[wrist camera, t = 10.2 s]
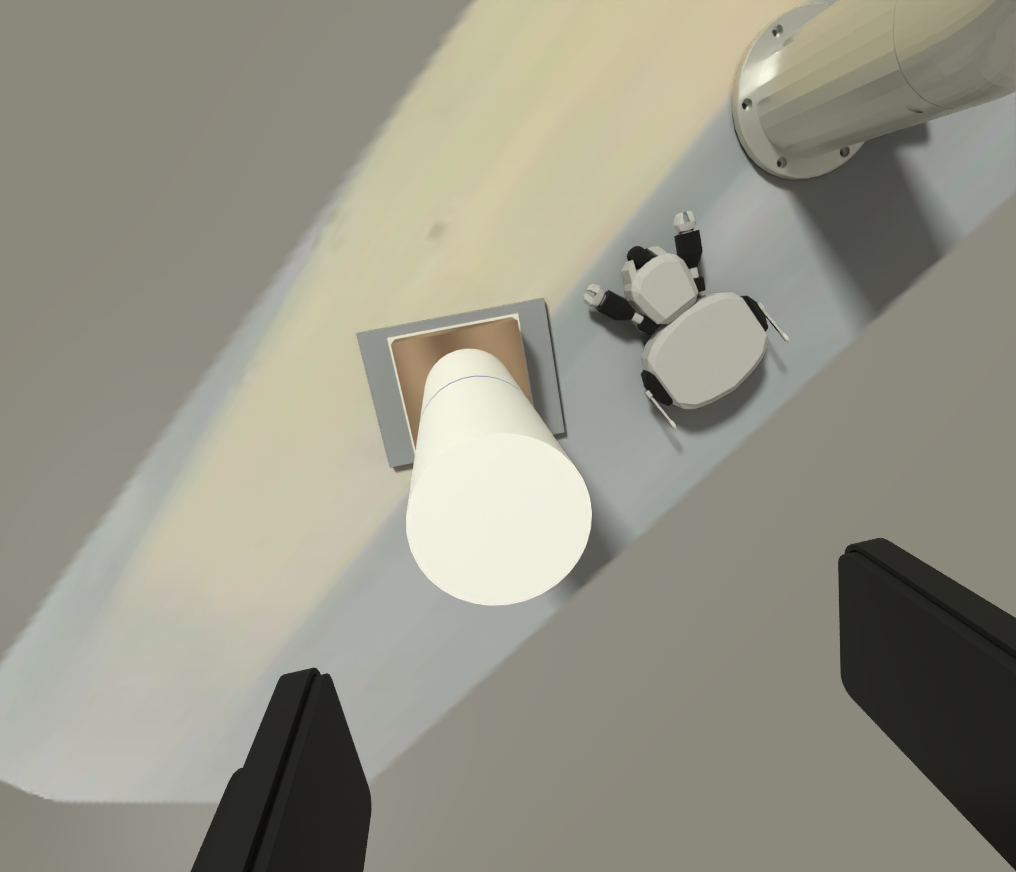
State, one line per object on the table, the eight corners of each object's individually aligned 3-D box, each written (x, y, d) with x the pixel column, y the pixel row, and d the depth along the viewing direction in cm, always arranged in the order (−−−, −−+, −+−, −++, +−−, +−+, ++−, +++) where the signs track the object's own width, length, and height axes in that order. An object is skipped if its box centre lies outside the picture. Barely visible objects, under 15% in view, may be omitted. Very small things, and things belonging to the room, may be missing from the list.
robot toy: (567, 296, 51) (663, 425, 54) (576, 295, 46) (681, 436, 49) (679, 205, 50) (770, 342, 53) (699, 195, 45) (798, 345, 48)
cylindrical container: (529, 375, 46) (625, 484, 22) (487, 450, 47) (534, 630, 23) (450, 332, 44) (461, 399, 20) (408, 411, 46) (373, 562, 22)
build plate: (542, 298, 49) (544, 298, 48) (562, 429, 53) (564, 432, 52) (357, 332, 48) (355, 333, 47) (390, 464, 52) (389, 467, 51)
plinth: (511, 317, 49) (517, 320, 45) (530, 428, 51) (537, 441, 48) (394, 339, 48) (390, 344, 44) (420, 450, 51) (418, 465, 47)
